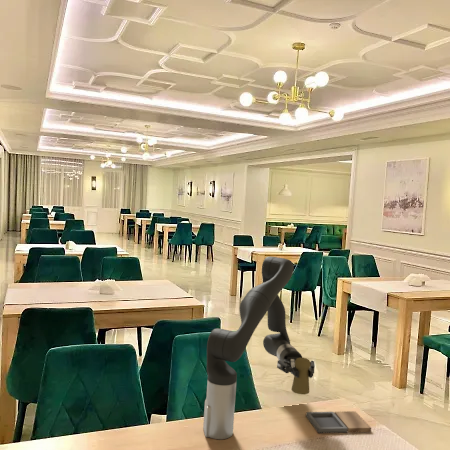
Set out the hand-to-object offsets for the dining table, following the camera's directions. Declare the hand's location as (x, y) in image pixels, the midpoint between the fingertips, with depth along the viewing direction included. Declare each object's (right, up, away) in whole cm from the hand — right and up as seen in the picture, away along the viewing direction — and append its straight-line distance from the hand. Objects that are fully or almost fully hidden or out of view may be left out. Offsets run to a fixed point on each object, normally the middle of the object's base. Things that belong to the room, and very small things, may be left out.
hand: (304, 374), depth 158 cm
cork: (-1, -6, +3) cm, 7 cm away
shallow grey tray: (+8, -19, +6) cm, 21 cm away
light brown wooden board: (+18, -19, +7) cm, 27 cm away
